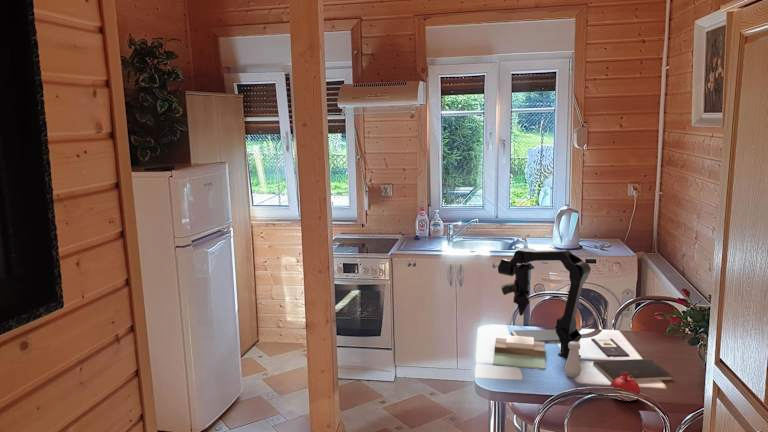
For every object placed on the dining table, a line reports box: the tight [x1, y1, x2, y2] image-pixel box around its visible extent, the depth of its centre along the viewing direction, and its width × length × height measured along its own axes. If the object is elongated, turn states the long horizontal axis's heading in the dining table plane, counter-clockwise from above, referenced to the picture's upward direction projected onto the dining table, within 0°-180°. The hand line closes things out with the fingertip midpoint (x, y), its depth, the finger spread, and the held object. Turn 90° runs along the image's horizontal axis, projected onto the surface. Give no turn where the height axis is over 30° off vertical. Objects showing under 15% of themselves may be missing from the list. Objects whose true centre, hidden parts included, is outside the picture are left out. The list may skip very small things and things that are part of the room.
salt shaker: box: [564, 341, 582, 379], centre depth 222 cm, size 6×6×13 cm
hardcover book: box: [592, 358, 673, 382], centre depth 225 cm, size 16×23×2 cm
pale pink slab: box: [505, 334, 534, 349], centre depth 245 cm, size 11×8×2 cm
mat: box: [492, 352, 546, 370], centre depth 236 cm, size 12×20×1 cm, turn 77°
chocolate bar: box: [591, 338, 630, 358], centre depth 249 cm, size 9×1×18 cm
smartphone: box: [510, 329, 581, 344], centre depth 261 cm, size 13×27×2 cm, turn 93°
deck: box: [494, 337, 546, 358], centre depth 245 cm, size 10×20×3 cm, turn 77°
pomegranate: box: [609, 372, 642, 394], centre depth 204 cm, size 10×10×9 cm
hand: (520, 313), depth 253 cm, fingers open, 5 cm apart
